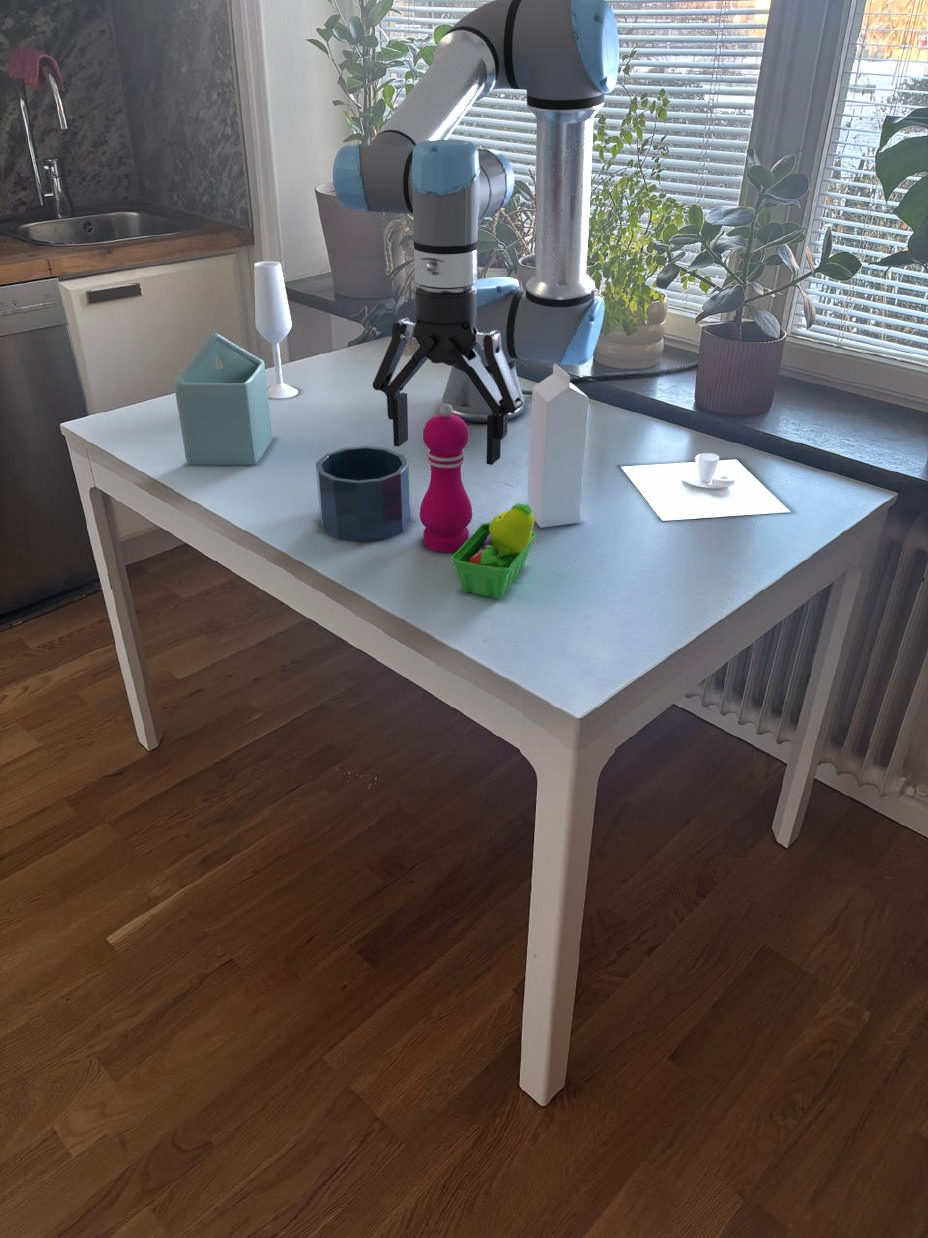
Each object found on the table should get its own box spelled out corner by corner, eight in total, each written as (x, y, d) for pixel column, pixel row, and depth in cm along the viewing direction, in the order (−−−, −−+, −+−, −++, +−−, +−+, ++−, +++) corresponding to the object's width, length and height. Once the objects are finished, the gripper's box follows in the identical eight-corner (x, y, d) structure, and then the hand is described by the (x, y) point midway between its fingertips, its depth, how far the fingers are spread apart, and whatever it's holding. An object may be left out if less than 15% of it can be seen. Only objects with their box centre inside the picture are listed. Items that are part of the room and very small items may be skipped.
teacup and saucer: (741, 491, 145) (746, 467, 143) (693, 494, 144) (696, 470, 142) (719, 469, 153) (723, 445, 150) (673, 472, 151) (676, 448, 149)
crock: (399, 498, 142) (397, 442, 138) (416, 536, 132) (415, 477, 127) (316, 507, 140) (311, 450, 135) (327, 546, 129) (322, 486, 125)
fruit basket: (482, 554, 128) (484, 478, 122) (544, 567, 125) (548, 489, 119) (449, 594, 119) (449, 513, 113) (514, 608, 116) (518, 527, 110)
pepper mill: (478, 535, 133) (481, 398, 122) (461, 558, 127) (463, 416, 116) (431, 527, 134) (429, 391, 124) (412, 549, 129) (409, 409, 118)
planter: (210, 478, 148) (192, 354, 138) (186, 463, 153) (166, 342, 142) (297, 451, 158) (286, 333, 147) (271, 438, 162) (258, 323, 152)
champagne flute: (303, 388, 185) (291, 260, 172) (290, 399, 179) (277, 268, 166) (271, 385, 186) (257, 258, 173) (257, 396, 180) (242, 266, 167)
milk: (540, 528, 135) (548, 378, 123) (526, 510, 139) (532, 364, 127) (579, 523, 136) (591, 374, 124) (564, 505, 141) (573, 360, 129)
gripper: (340, 280, 114) (350, 445, 125) (530, 304, 105) (522, 479, 116) (371, 268, 119) (378, 426, 131) (554, 290, 110) (544, 458, 122)
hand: (446, 451), depth 124 cm, fingers open, 13 cm apart
